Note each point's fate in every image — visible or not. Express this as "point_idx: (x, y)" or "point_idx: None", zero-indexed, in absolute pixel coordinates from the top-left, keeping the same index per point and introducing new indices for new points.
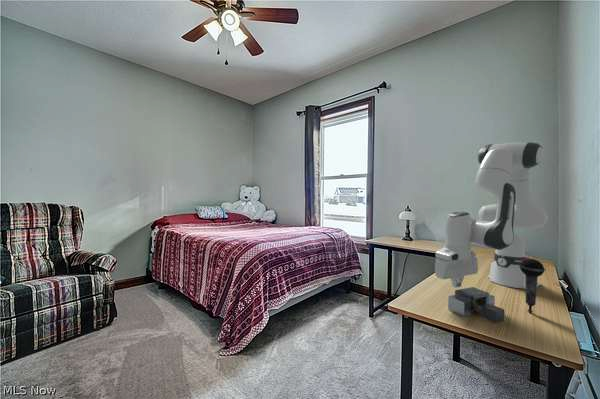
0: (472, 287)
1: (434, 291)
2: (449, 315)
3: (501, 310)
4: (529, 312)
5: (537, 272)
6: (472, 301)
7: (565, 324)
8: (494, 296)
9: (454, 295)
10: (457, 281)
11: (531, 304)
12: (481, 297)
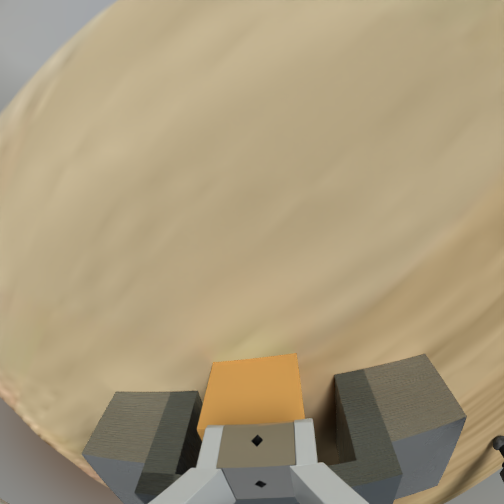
0: (388, 482)
1: (252, 66)
2: (89, 427)
3: None
4: (493, 441)
5: None
6: None
7: (477, 483)
8: (433, 484)
9: (132, 466)
10: (292, 480)
11: (500, 475)
12: None
